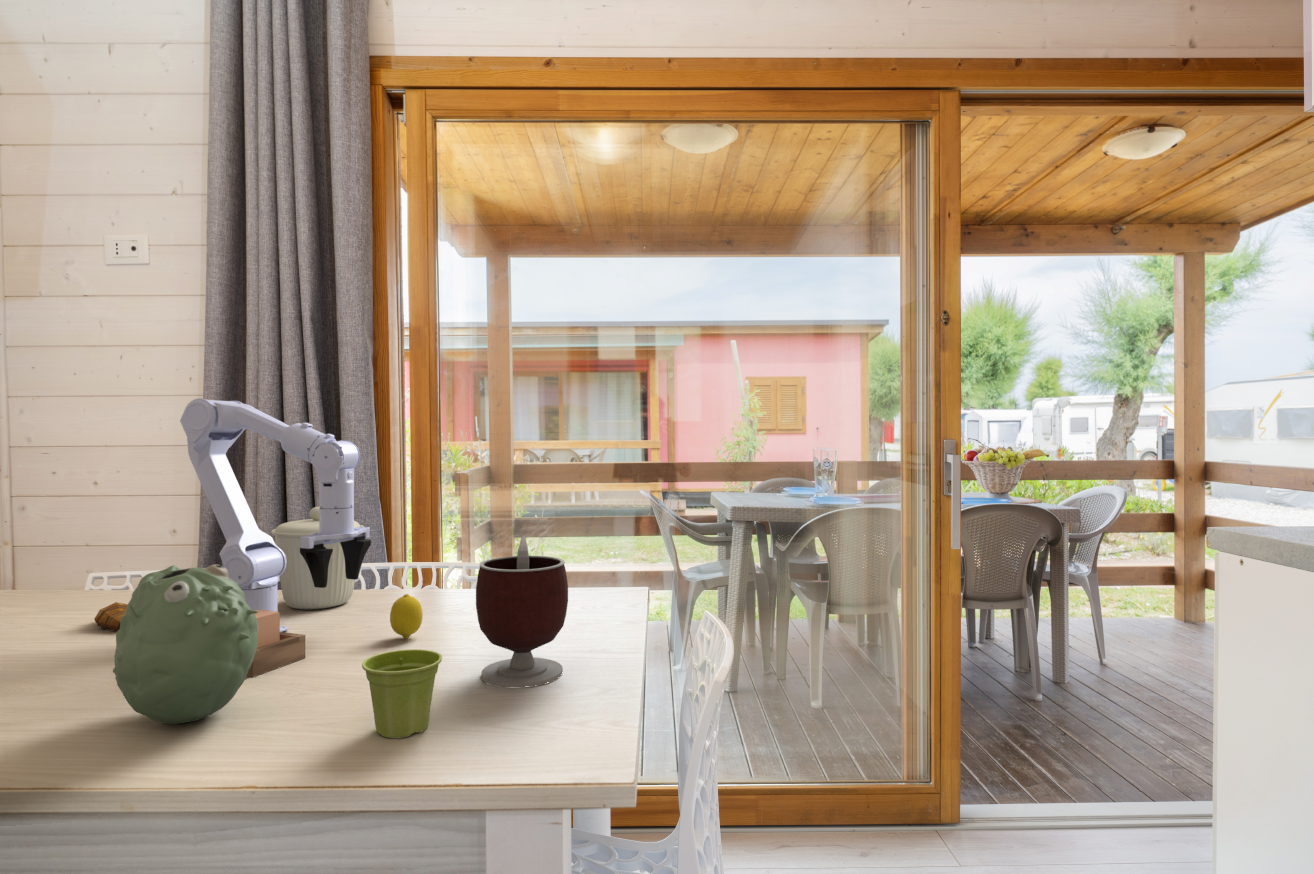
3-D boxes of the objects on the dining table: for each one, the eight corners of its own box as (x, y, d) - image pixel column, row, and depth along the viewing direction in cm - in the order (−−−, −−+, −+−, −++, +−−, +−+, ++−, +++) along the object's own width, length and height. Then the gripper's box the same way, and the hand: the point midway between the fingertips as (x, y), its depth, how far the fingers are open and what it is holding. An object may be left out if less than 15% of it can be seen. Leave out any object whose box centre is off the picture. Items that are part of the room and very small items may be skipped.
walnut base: (204, 669, 113) (204, 645, 113) (259, 651, 122) (259, 629, 122) (252, 677, 109) (252, 652, 109) (305, 657, 119) (305, 634, 119)
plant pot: (375, 715, 94) (375, 649, 94) (448, 713, 95) (448, 647, 95) (350, 746, 85) (350, 672, 85) (432, 743, 86) (432, 670, 86)
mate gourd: (569, 686, 105) (570, 549, 105) (471, 692, 103) (471, 551, 103) (565, 654, 120) (565, 534, 120) (480, 659, 118) (480, 536, 118)
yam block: (234, 647, 114) (234, 615, 114) (259, 639, 118) (259, 609, 118) (255, 650, 112) (255, 618, 112) (279, 642, 117) (279, 611, 117)
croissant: (150, 630, 136) (150, 603, 136) (107, 638, 131) (107, 610, 131) (124, 619, 144) (124, 594, 144) (82, 626, 139) (82, 600, 139)
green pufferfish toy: (206, 688, 104) (206, 549, 104) (290, 712, 95) (290, 560, 95) (78, 726, 91) (78, 567, 91) (162, 759, 82) (162, 582, 82)
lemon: (412, 643, 127) (412, 598, 127) (383, 641, 128) (383, 596, 128) (428, 635, 132) (428, 591, 132) (400, 633, 133) (400, 590, 133)
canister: (341, 615, 147) (341, 511, 147) (253, 614, 147) (253, 511, 147) (377, 595, 165) (377, 502, 165) (298, 594, 165) (298, 502, 165)
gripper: (323, 512, 122) (323, 592, 122) (382, 504, 136) (382, 576, 136) (290, 510, 124) (290, 589, 124) (352, 503, 138) (352, 574, 138)
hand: (336, 582), depth 130 cm, fingers open, 7 cm apart
